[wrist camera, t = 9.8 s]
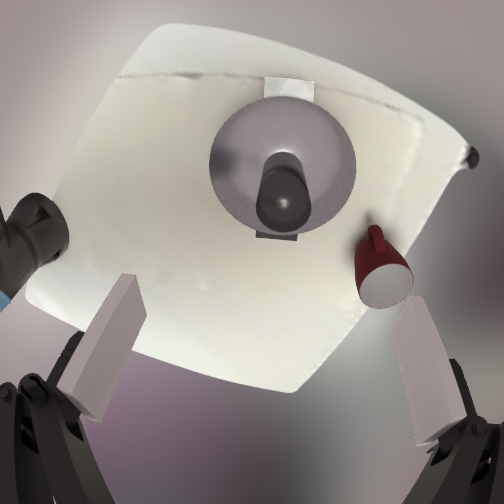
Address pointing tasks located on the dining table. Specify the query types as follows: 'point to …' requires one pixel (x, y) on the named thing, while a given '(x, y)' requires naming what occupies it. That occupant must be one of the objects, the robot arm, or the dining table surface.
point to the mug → (381, 271)
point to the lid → (282, 166)
